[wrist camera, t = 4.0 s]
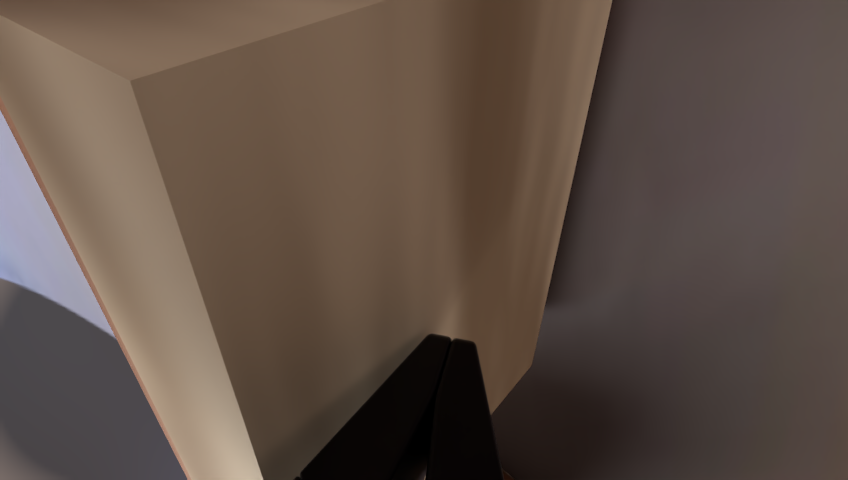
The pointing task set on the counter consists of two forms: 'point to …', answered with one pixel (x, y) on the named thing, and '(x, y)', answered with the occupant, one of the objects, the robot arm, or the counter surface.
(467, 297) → the beige flat block
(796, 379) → the counter surface
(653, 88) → the counter surface
